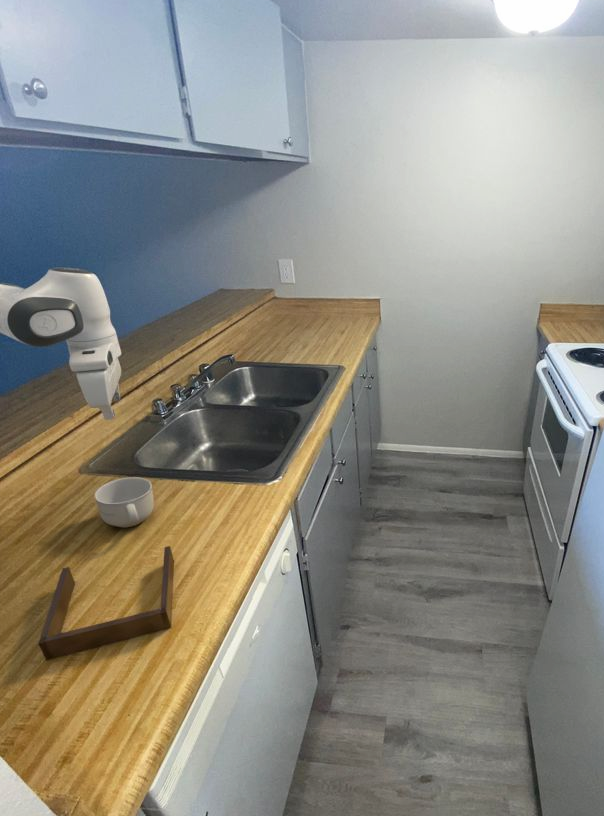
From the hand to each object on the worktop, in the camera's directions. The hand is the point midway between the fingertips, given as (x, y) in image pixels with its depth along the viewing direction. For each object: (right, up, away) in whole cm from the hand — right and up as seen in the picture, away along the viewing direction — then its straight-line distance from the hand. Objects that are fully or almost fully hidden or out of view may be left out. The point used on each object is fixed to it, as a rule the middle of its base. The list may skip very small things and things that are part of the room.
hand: (113, 409), depth 104 cm
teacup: (+4, -25, +1) cm, 26 cm away
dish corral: (+12, -36, -19) cm, 42 cm away
